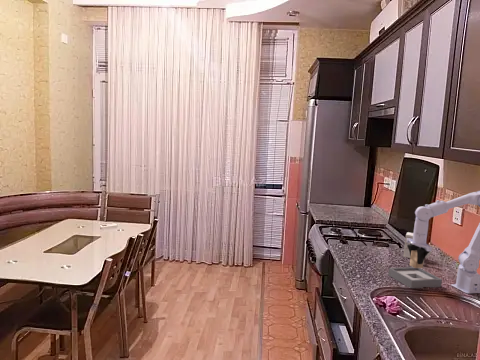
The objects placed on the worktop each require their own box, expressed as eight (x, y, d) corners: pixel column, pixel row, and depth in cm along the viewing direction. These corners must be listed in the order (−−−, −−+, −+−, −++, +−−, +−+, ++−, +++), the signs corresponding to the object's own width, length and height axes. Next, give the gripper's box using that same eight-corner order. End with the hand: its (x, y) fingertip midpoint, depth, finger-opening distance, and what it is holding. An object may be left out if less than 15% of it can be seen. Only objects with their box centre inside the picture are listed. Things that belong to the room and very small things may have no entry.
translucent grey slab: (415, 263, 219) (416, 248, 218) (414, 262, 221) (416, 248, 220) (429, 266, 216) (431, 251, 215) (429, 265, 218) (431, 250, 217)
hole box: (441, 286, 187) (442, 279, 186) (410, 288, 182) (411, 280, 182) (416, 274, 202) (417, 267, 202) (388, 275, 198) (389, 267, 197)
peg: (422, 267, 190) (424, 252, 189) (415, 268, 189) (417, 253, 188) (416, 264, 194) (418, 250, 193) (409, 265, 193) (411, 250, 192)
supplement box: (404, 253, 237) (407, 231, 235) (418, 256, 233) (421, 234, 232) (402, 256, 230) (405, 234, 228) (417, 259, 227) (420, 236, 225)
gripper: (402, 228, 195) (398, 257, 197) (424, 237, 181) (420, 267, 183) (415, 229, 197) (411, 256, 199) (437, 237, 183) (433, 267, 185)
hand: (416, 262), depth 191 cm, fingers closed on peg, 4 cm apart
